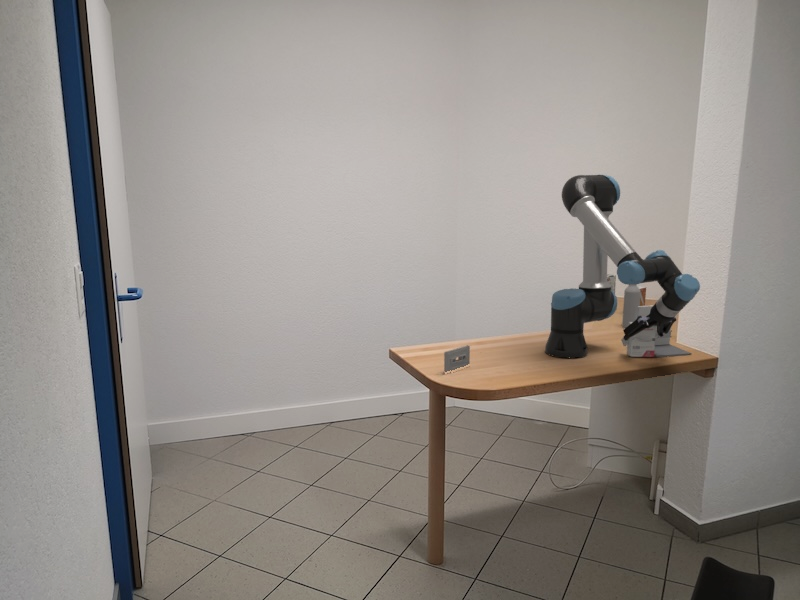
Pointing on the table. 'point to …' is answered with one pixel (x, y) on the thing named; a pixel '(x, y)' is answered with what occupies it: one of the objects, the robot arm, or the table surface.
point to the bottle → (630, 304)
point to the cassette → (451, 356)
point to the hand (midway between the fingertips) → (635, 342)
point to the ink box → (642, 343)
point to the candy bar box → (611, 281)
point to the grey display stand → (661, 338)
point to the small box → (642, 295)
